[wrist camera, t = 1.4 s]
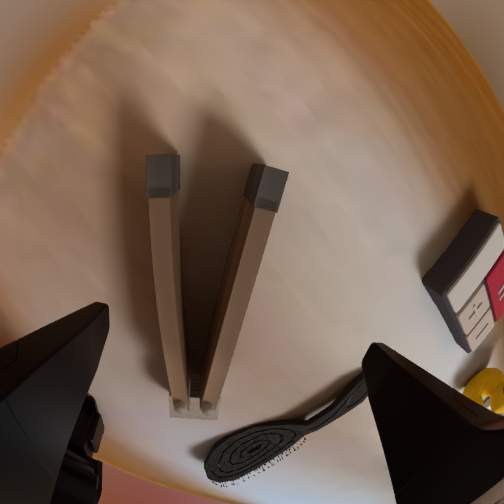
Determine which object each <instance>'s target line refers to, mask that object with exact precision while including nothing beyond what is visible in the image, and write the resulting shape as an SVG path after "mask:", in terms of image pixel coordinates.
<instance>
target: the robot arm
mask: <svg viewBox="0 0 504 504" xmlns="http://www.w3.org/2000/svg"><path fill="white" fill-rule="evenodd" d="M108 332H109V307H108V305H107V304H105V303H101V302H94V303H92V304H90V305H88V306H86V307H84V308H81V309H79V310H77V311H75V312H73V313H71V314H69V315H67V316H65V317H63V318H61V319H59V320H56V321H54V322H52V323H50V324H48V325H46V326H44V327H42V328H40V329H38V330H36V331H34V332H32V333H30V334H28V335H26V336H24V337H22V338H20V339H18V341H17V340H15V341H13V342H11V343H9V344H7V345H5V346H3V347H1V348H0V504H98V501H99V499H100V496H101V491H102V462H101V461H99V460H95V459H93V458H92V456H93V452H94V453H97V452H98V450H99V446H100V442H101V438H102V434H103V433H104V424H103V421H102V417H101V415H100V413H99V412H98V408H97V405H96V401H95V399H94V398H92V397H88V396H86V395H87V393H88V390H89V388H90V385H91V383H92V381H93V378H94V376H95V373H96V371H97V368H98V365H99V361H100V358H101V355H102V351H103V348H104V345H105V342H106V339H107V335H108ZM362 369H363V374H364V378H365V383H366V388H367V393H368V398H369V402H370V405H371V409H372V412H373V415H374V419H375V422H376V426H377V429H378V433H379V436H380V440H381V443H382V447H383V451H384V454H385V458H386V462H387V466H388V470H389V474H390V478H391V482H392V486H393V490H394V494H395V499H396V504H504V416H501V415H498V414H497V413H495V412H493V411H491V410H489V409H487V408H485V407H484V406H482V405H480V404H478V403H476V402H475V401H473V400H471V399H469V398H468V397H466V396H465V395H463V394H461V393H460V392H458V391H457V390H455V389H453V388H451V387H450V386H449V385H447V384H446V383H444V382H442V381H441V380H439V379H438V378H436V377H435V376H433V375H432V374H430V373H428V372H427V371H425V370H424V369H422V368H421V367H419V366H418V365H416V364H414V363H413V362H411V361H410V360H408V359H407V358H405V357H404V356H402V355H401V354H399V353H397V352H396V351H394V350H393V349H391V348H390V347H388V346H387V345H385V344H383V343H376V342H374V343H372V344H371V345H370V347H369V348H368V350H367V352H366V354H365V356H364V358H363V360H362Z"/></svg>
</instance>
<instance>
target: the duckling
mask: <svg viewBox="0 0 504 504" xmlns="http://www.w3.org/2000/svg"><path fill="white" fill-rule="evenodd" d="M463 395H465V396H466V397H468V398H469V399H471V400H473V401H475V402H476V403H478V404H480V405H482V406H484V402H483V399H482V397H488V396H491V397H490V407H491V411H493V412H495V413H504V375H503V373H502V371H501V370H499V369H497V368H486V369H483V370H481V371H480V372H479V373H477V374H476V375H475V376H474V377H473V378H472V379H471V380H470V381H469V382H468V384H467V385H466V387H465V389H464V391H463Z"/></svg>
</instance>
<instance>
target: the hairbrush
mask: <svg viewBox="0 0 504 504" xmlns="http://www.w3.org/2000/svg"><path fill="white" fill-rule="evenodd" d="M367 396H368V393H367V388H366V383H365V378H364V374H363V372H362V373H361V374H360V375H359V376H358V377H357V378H356V379H355V380H354V381H353V382H352V383H351V384H350V385H349V386H348V387H347V388H346V389H345V390H344V391H343V392H342V393H341V394H340V395H339V397H338V398H337V399H336V400H335V401H334V402H333V403H332V404H331V405H329V406H328V407H326V408H325V409H323V410H322V411H321V412H319V413H318V414H316V415H315V416H313V417H311V418H310V419H308V420H278V421H269V422H272V423H267V422H265V423H260V424H256V425H253V426H250V427H247V428H244V429H241V430H239V431H236V432H234V433H232V434H229V435H227V436H225V437H224V438H222V439H220V440H219V441H218V442H217V443H215V444H214V446H213V447H212V449H211V451H210V452H209V454H208V456H207V457H206V459H205V461H204V469H205V471H206V474H207V477H208V479H210V480H213V481H215V482H219V483H220V484H221V482H226V481H234V480H236V479H239V478H240V477H243V476H245V475H246V474H247V475H248V473H249V474H250V472H251V471H253V470H254V471H255V469H256V470H258V469H257V468H258V467H259V468H260V466H262V465H263V464H264V466H265V465H266V464H265V463H267V462H268V461H270V460H271V459H273V460H274V458H275V457H276V456H278V455H279V454H283V452H284V451H285V450H286V451H287V449H288V448H290V447H291V446H292V445H294V444H295V443H296V442H297V441H298V440H300V439H301V438H302V437H304V435H307V434H309V433H312V432H314V431H317V430H319V429H320V428H322V427H324V426H326V425H327V424H329V423H331V422H333V421H334V420H336V419H338V418H339V417H341V416H342V415H344V414H345V413H347V412H348V411H350V410H351V409H353V408H354V407H356V406H357V405H359V404H360V403H362V402H363V401H364V400H365V398H366V397H367ZM293 430H294V431H293ZM282 434H283V436H282ZM268 440H269V442H268ZM304 440H306V439H305V438H304ZM299 442H300V441H299ZM303 442H304V441H303ZM304 443H305V442H304ZM259 444H260V445H259ZM254 445H258V446H256V447H255V448H253V449H251V448H252V447H253V446H254ZM301 445H302V444H301ZM292 447H293V446H292ZM297 447H298V446H297ZM250 449H251V450H250ZM293 449H294V448H293ZM298 449H299V447H298ZM249 450H250V451H249ZM289 451H290V449H289ZM294 451H295V449H294ZM290 453H291V452H290ZM285 454H286V453H285ZM287 455H288V454H287ZM287 455H286V456H287ZM278 457H279V456H278ZM229 458H230V459H229ZM276 459H277V458H276ZM279 459H280V458H279ZM282 459H283V458H282ZM271 461H272V460H271ZM277 461H278V460H277ZM280 461H281V459H280ZM218 462H219V465H218ZM269 463H271V462H269ZM267 465H268V464H267ZM271 465H272V464H271ZM273 465H274V464H273ZM273 465H272V466H273ZM219 466H220V467H219ZM262 467H263V466H262ZM268 468H269V467H268ZM263 469H264V468H263ZM263 471H265V470H263ZM259 473H260V472H259ZM254 476H255V475H254ZM248 478H249V477H248ZM243 479H244V478H243ZM244 481H245V480H243V482H244ZM213 483H214V482H213ZM231 483H232V482H231ZM225 484H226V483H225ZM215 485H217V484H216V483H215ZM232 485H233V484H232ZM234 485H235V484H234ZM221 486H222V485H221ZM223 486H224V485H223ZM226 487H227V486H226Z"/></svg>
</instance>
